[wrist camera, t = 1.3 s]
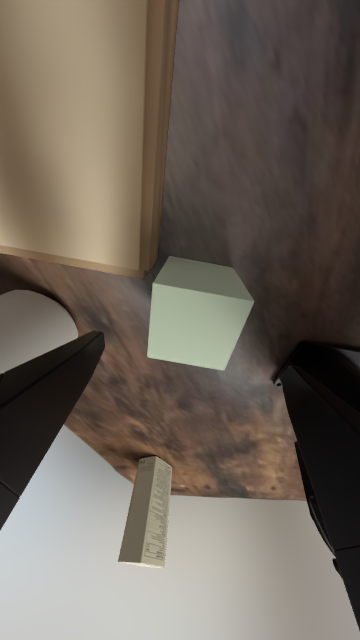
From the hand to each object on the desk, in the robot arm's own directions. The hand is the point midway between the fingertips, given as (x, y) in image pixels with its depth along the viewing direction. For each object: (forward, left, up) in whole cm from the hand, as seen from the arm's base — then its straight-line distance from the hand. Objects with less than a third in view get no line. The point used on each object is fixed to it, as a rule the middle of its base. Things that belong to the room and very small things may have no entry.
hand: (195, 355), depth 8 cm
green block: (0, 0, -8) cm, 8 cm away
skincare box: (0, +38, -8) cm, 39 cm away
